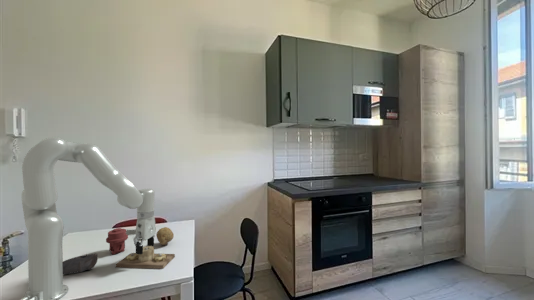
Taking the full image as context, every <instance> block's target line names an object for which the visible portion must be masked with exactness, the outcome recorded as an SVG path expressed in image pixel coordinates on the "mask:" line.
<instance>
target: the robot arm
mask: <svg viewBox="0 0 534 300" xmlns="http://www.w3.org/2000/svg"><path fill="white" fill-rule="evenodd" d="M57 161H63V162H70V163H78V164H79V163H80V164H82V165H83V166H84V167H85V168H86V169H87V170H88V171H89V172H90V173H91V174H92V175H93V177H94V178H95V179H96V180H97V181H98V182H99V184H101V185H103V186H104V187H106V188H108V189H109V190H110V191H112V192H113V193H114V194H115V195H116V196H117V197H116V201H117V203H118V204H119V205H120V206H122V207H125V208H127V209H131V210H135V209H136V225H135V226H136V227H135V235H134V237H133V244H134V246H135V253H136V254H143V247H144V246H143V243H144V241H146V243H147V244H146V245H147V246H152V247H155V237H156V236H155V235H156V233H157V232H156V229H157V228H156V217H155V190H154V189H152V188H141V189H138V188H137V187H136V186H135V184H133V183H132V182H131V181H130V180H129V178H127V177H126V176H125V175H124V173H122V172H121V171H120V170H119V169H118V168H117V167H116V165H115V164H114V163H113V162H112V161H111V160H110V159H109V157H108V156H107V155H106V154H105V152H104V151H103V150H102V149H101V148H100V147H99V146H98V145H96V144H93V143H81V142H80V143H79V142H74V141H68V140H65V139H63V138H61V137H59V136H57V137H56V136H54V137H53V136H52V137H48V138H44V139H42V140H40V141H39V142H38V143H37V144H35V145H33V147H31V148H30V149H29V151H28V152H27V153H26V154H25V156H24V157H23V161H22V165H21V166H22V167H21V169H22V173H21V174H22V184H23V191H22V192H21V205H22V211H23V219H24V223H25V227H26V228H25V229H26V230H27V243H28V244H27V260H28V261H27V263H28V264H27V265H28V268H27V269H28V272H27V273H28V274H27V275H28V278H27V279H28V290H27V291H25V295H24V296H23V297H22V298H21V299H19V300H56V299H57V300H59V299H61V298H63V297H64V296H65V295H66V294H67V293H68V291H69V286H68V285H67V284H64V274H63V259H64V258H63V255H64V254H63V240H64V239H63V237H64V221H63V219H62V217H61V216H60V215H59V214H58V212H57V205H56V203H57V200H58V197H59V196H58V190H57V186H56V179H55V166H56V163H57Z"/></svg>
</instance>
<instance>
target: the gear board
mask: <svg viewBox="0 0 534 300" xmlns="http://www.w3.org/2000/svg"><path fill="white" fill-rule="evenodd" d="M145 250H148V248H145ZM175 257H176V255H175V254H174V253H154V259H153V260H150V261H148V262H147V261H146V262H141V261H139V254H136V252H131V253H129V254H128V255H126V256H125V257H123V258H122V259H121V260H119V261H118V262H116V263H115V268H124V269H126V268H130V269H132V268H133V269H161V270H162V269H164V268H165V267H167V266H168V265H169V263H171V262H172V260H173V259H174V258H175Z"/></svg>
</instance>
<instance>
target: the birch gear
mask: <svg viewBox="0 0 534 300" xmlns="http://www.w3.org/2000/svg"><path fill="white" fill-rule="evenodd" d="M145 248H148V250H145ZM154 254H155V246H143V254H139V261H141V262H146V261H147V262H148V261H150V260H153V259H154Z"/></svg>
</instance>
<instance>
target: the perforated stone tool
mask: <svg viewBox="0 0 534 300" xmlns="http://www.w3.org/2000/svg"><path fill="white" fill-rule="evenodd" d="M98 259H99V258H98V254H97V253H90V254H82V255H79V256H74V257H72V258H69V259H65V260H64V261H63V275H69V274H78V273H83V272H85V271H90V270H92V269H93V268H94V267H96V265H97V263H98Z"/></svg>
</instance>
